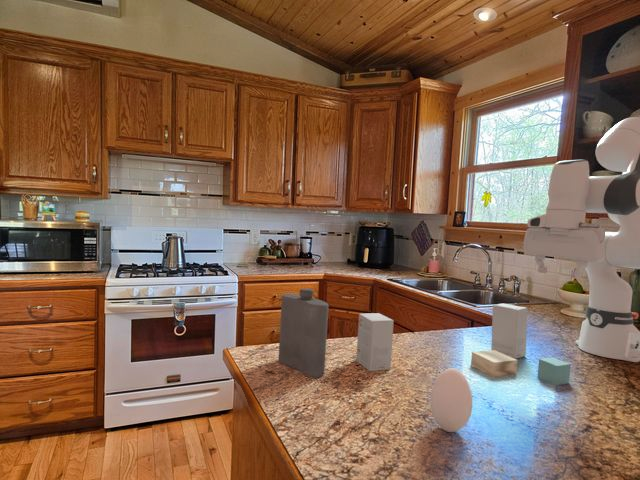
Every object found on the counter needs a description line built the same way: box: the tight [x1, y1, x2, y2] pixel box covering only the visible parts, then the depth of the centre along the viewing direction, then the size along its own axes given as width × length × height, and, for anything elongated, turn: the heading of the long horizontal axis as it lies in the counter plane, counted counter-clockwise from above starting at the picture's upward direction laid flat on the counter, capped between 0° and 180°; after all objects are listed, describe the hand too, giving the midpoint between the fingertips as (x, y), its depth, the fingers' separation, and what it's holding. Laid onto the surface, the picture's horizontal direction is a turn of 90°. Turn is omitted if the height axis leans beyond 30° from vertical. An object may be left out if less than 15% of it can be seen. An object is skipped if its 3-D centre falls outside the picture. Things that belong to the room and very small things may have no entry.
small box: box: [355, 312, 395, 372], centre depth 106 cm, size 8×6×13 cm
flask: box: [277, 287, 329, 379], centre depth 101 cm, size 15×6×20 cm, turn 44°
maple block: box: [470, 349, 518, 377], centre depth 109 cm, size 8×8×4 cm
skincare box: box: [490, 303, 528, 360], centre depth 122 cm, size 8×6×15 cm
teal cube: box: [537, 357, 572, 386], centre depth 103 cm, size 5×5×5 cm
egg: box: [429, 367, 473, 433], centre depth 75 cm, size 7×7×12 cm
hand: (558, 275), depth 104 cm, fingers open, 8 cm apart
